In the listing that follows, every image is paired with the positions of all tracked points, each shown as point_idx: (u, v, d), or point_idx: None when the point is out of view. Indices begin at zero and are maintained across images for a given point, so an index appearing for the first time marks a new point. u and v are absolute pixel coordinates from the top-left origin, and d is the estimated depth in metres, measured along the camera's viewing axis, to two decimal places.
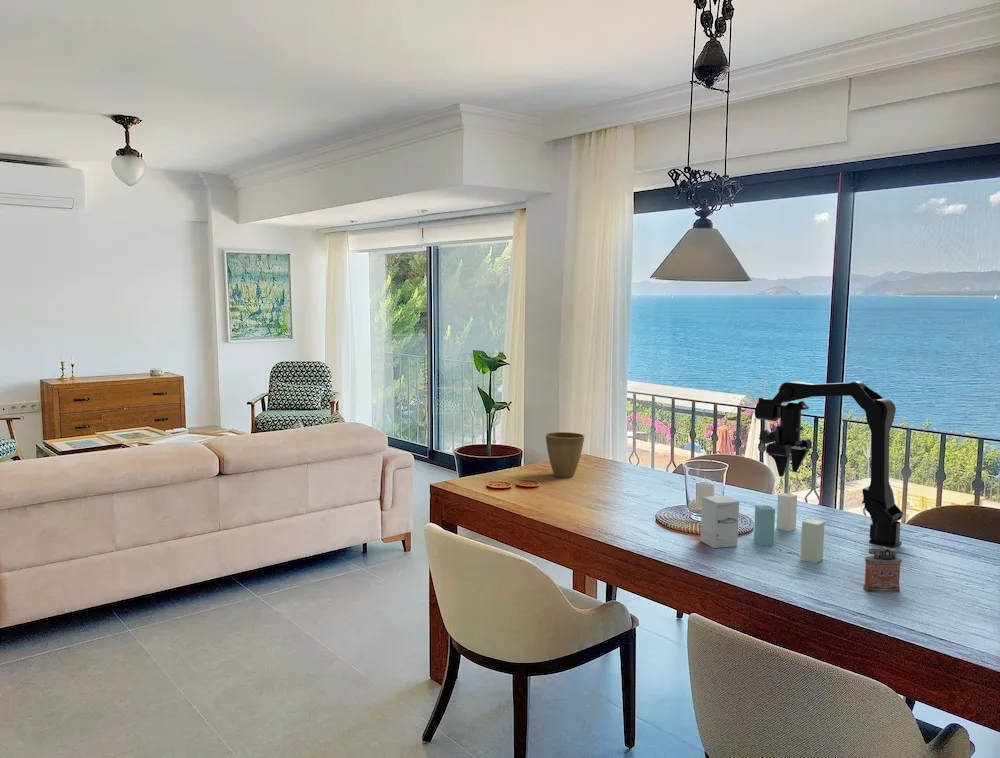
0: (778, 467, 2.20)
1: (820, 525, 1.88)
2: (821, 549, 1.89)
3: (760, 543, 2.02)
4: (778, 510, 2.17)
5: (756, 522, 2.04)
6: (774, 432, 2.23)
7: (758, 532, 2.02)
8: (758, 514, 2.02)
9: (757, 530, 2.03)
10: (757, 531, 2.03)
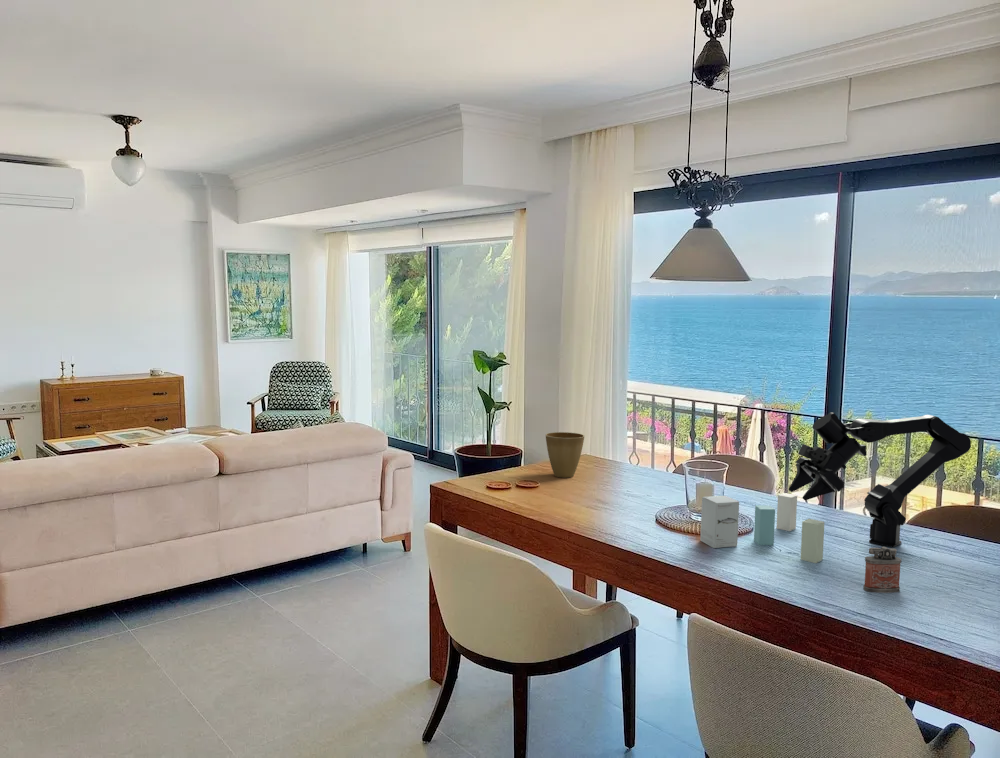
0: (811, 491, 1.97)
1: (820, 525, 1.88)
2: (821, 549, 1.89)
3: (760, 543, 2.02)
4: (778, 510, 2.17)
5: (756, 522, 2.04)
6: (824, 455, 2.00)
7: (758, 532, 2.02)
8: (758, 514, 2.02)
9: (757, 530, 2.03)
10: (757, 531, 2.03)
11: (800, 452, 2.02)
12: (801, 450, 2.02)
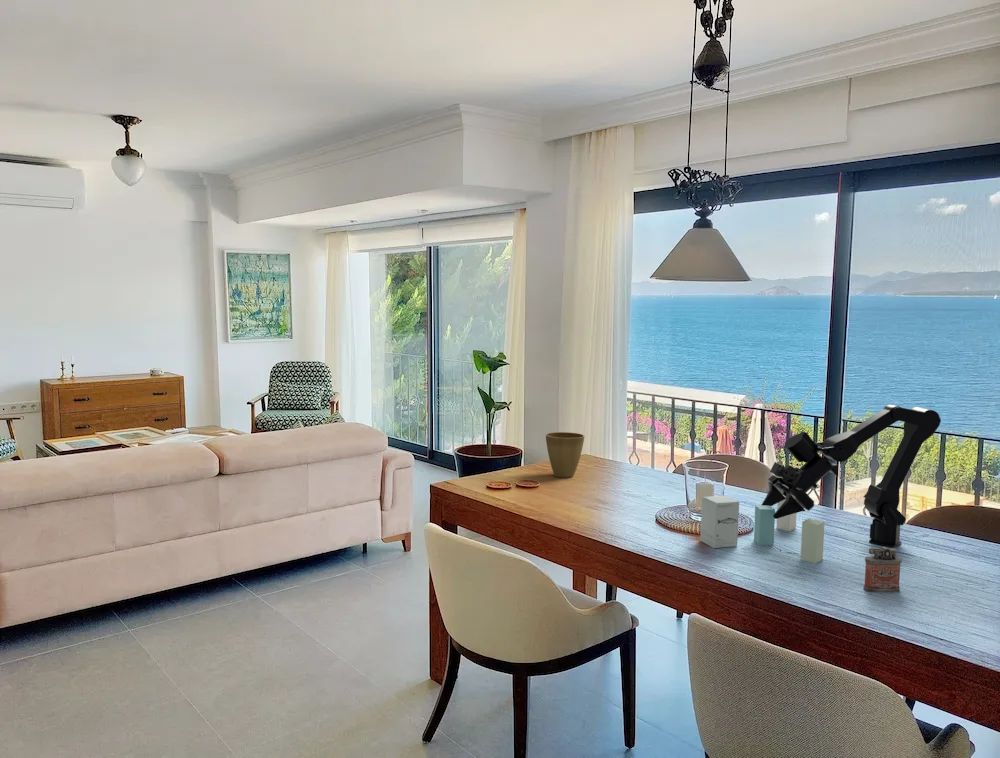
0: (782, 510, 1.97)
1: (820, 525, 1.88)
2: (821, 549, 1.89)
3: (760, 543, 2.02)
4: None
5: (756, 522, 2.04)
6: (795, 473, 2.00)
7: (758, 532, 2.02)
8: (758, 514, 2.02)
9: (757, 530, 2.03)
10: (757, 531, 2.03)
11: (772, 470, 2.02)
12: (773, 468, 2.02)
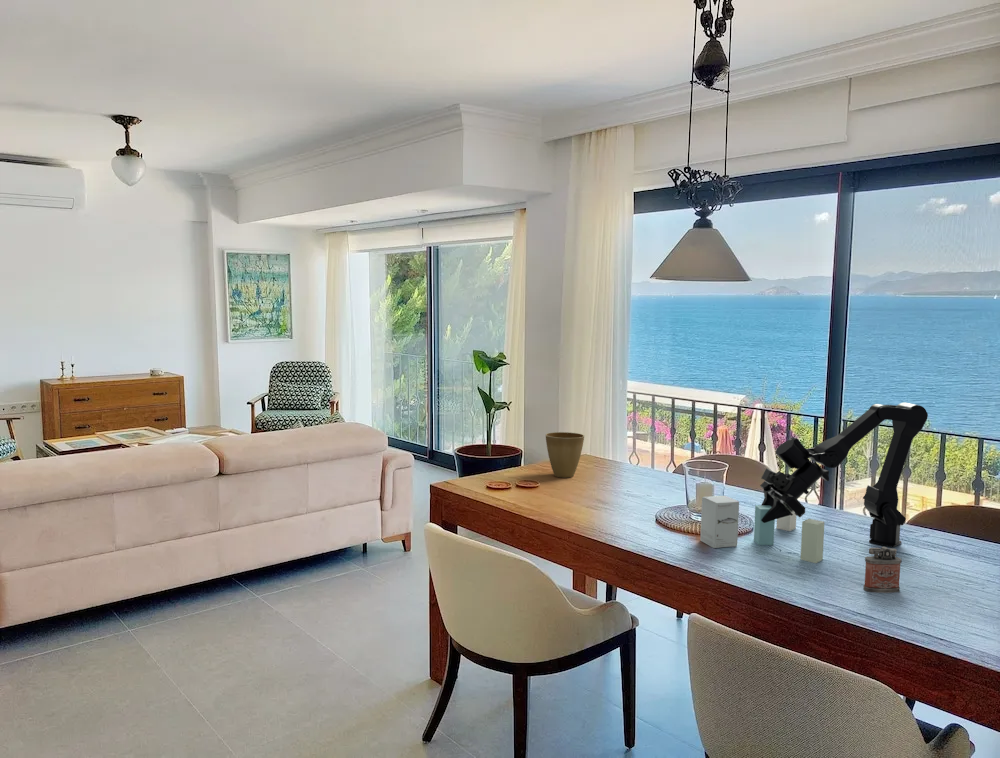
0: (770, 514, 2.00)
1: (820, 525, 1.88)
2: (821, 549, 1.89)
3: (760, 543, 2.02)
4: None
5: (756, 522, 2.04)
6: (786, 480, 2.00)
7: (758, 532, 2.02)
8: (758, 514, 2.02)
9: (757, 530, 2.03)
10: (757, 531, 2.03)
11: (763, 477, 2.03)
12: (764, 475, 2.03)
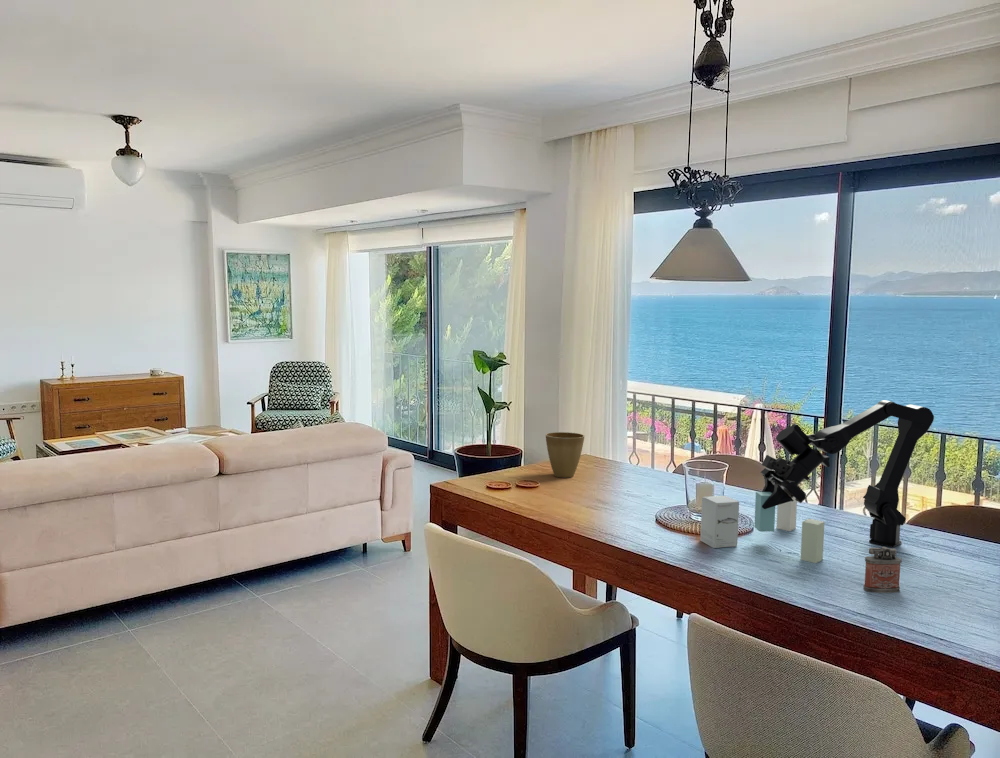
0: (770, 500, 1.99)
1: (820, 525, 1.88)
2: (821, 549, 1.89)
3: (761, 529, 2.01)
4: (778, 510, 2.17)
5: (756, 509, 2.04)
6: (787, 466, 2.00)
7: (759, 518, 2.02)
8: (759, 500, 2.02)
9: (758, 516, 2.03)
10: (758, 517, 2.03)
11: (764, 463, 2.02)
12: (765, 461, 2.02)
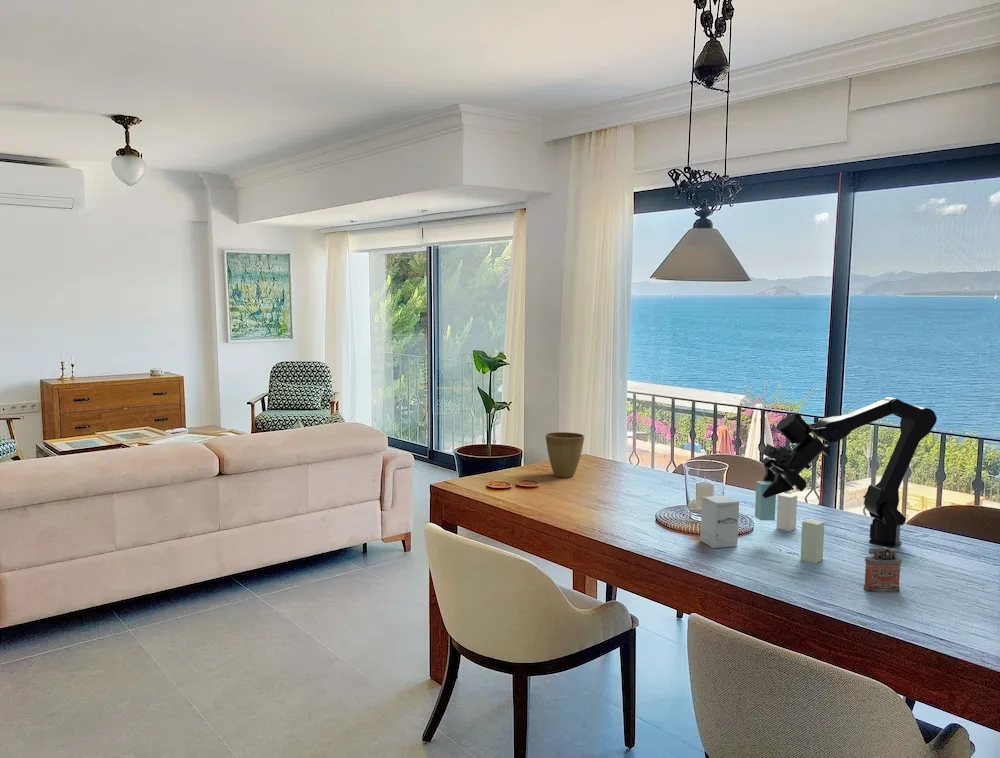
0: (771, 489, 1.99)
1: (820, 525, 1.88)
2: (821, 549, 1.89)
3: (761, 518, 2.01)
4: (778, 510, 2.17)
5: (757, 498, 2.03)
6: (788, 455, 1.99)
7: (759, 507, 2.01)
8: (759, 489, 2.02)
9: (758, 505, 2.02)
10: (758, 506, 2.02)
11: (764, 452, 2.02)
12: (765, 450, 2.02)
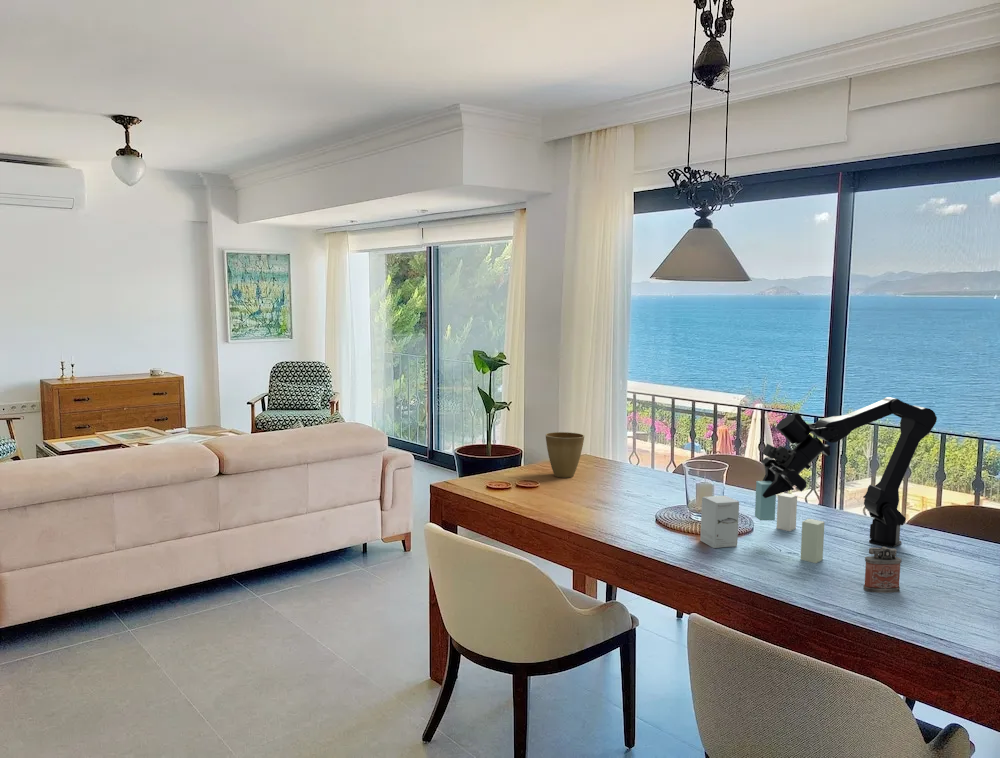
0: (771, 489, 1.99)
1: (820, 525, 1.88)
2: (821, 549, 1.89)
3: (761, 518, 2.01)
4: (778, 510, 2.17)
5: (757, 498, 2.03)
6: (788, 455, 1.99)
7: (759, 507, 2.01)
8: (759, 489, 2.02)
9: (758, 505, 2.02)
10: (758, 506, 2.02)
11: (764, 452, 2.02)
12: (765, 450, 2.02)
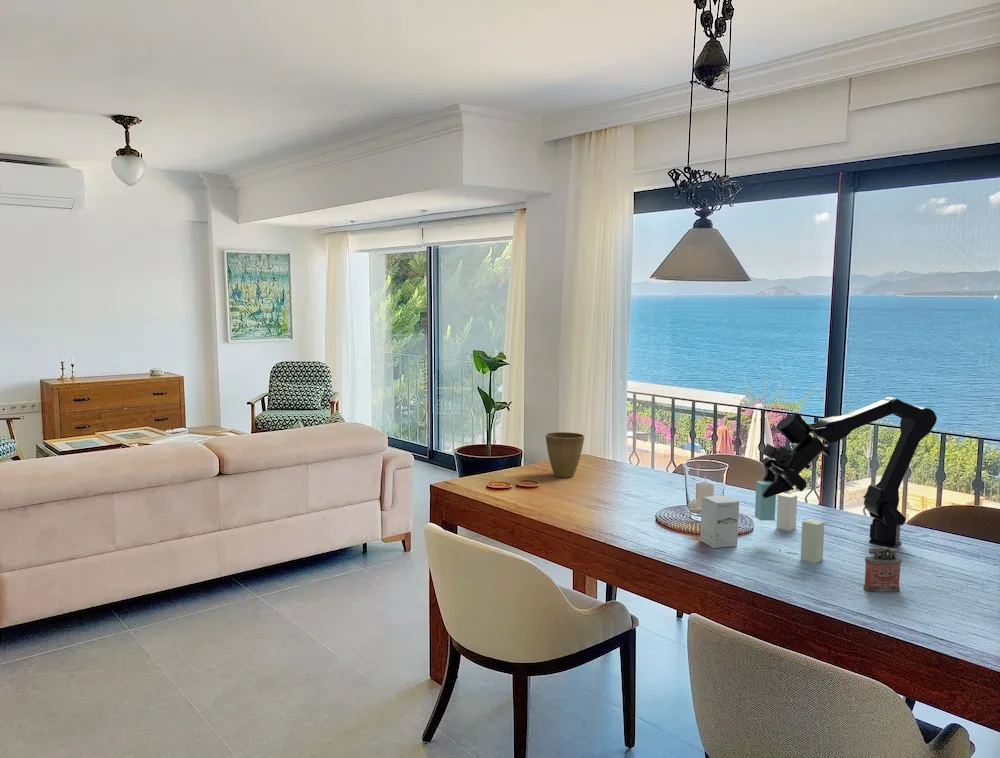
0: (771, 489, 1.99)
1: (820, 525, 1.88)
2: (821, 549, 1.89)
3: (761, 518, 2.01)
4: (778, 510, 2.17)
5: (757, 498, 2.03)
6: (788, 455, 1.99)
7: (759, 507, 2.01)
8: (759, 489, 2.02)
9: (758, 505, 2.02)
10: (758, 506, 2.02)
11: (764, 452, 2.02)
12: (765, 450, 2.02)
